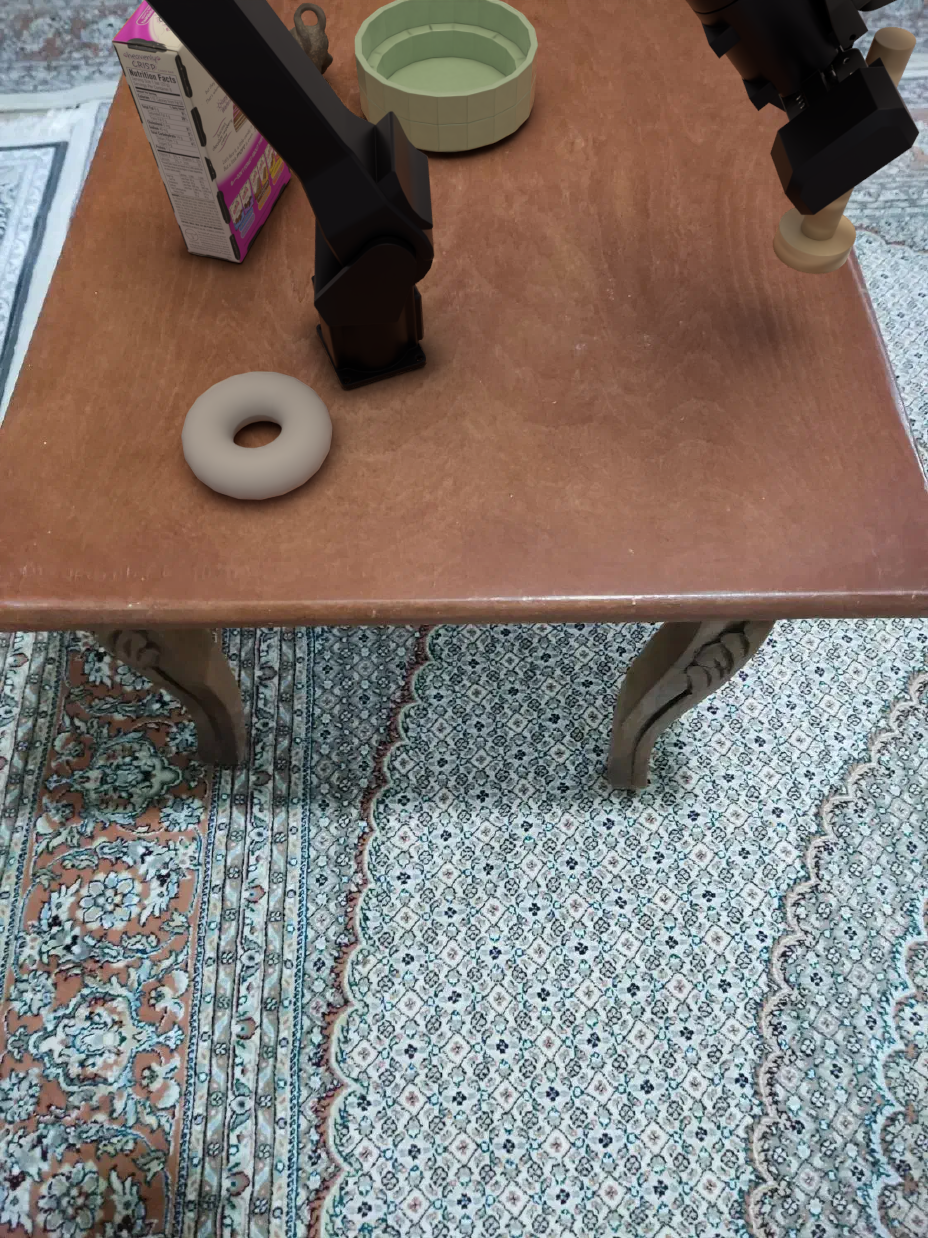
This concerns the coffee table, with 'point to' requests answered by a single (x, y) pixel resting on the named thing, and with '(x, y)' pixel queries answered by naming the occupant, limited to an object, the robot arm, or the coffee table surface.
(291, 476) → the donut
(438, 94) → the bowl
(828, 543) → the coffee table surface
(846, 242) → the post
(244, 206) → the candy bar box
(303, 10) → the dog figurine
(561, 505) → the coffee table surface
